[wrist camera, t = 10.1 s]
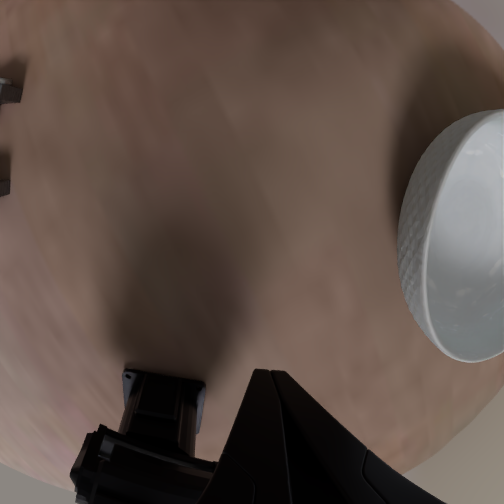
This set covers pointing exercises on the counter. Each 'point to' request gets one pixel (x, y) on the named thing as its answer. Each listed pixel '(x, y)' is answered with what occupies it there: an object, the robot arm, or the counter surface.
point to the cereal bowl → (457, 239)
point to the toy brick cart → (4, 94)
